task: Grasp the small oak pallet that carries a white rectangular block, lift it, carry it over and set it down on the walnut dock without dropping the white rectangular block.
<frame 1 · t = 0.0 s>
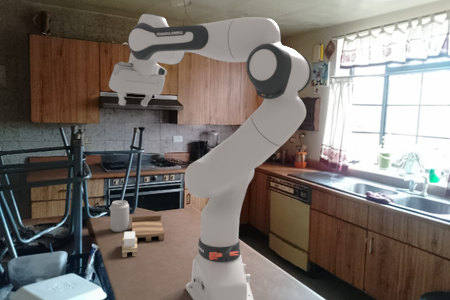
hand: (133, 105, 112), 52 cm above the table, tool tilted 20°, fingers open, 8 cm apart
can: (119, 229, 139), on the table
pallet: (129, 250, 119), on the table
white rectangular block: (129, 243, 119), point 3 cm above the table
dock: (147, 233, 136), on the table
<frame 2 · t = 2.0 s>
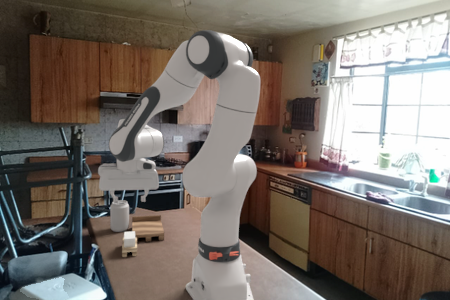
hand: (129, 201, 117), 18 cm above the table, tool pointing down, fingers open, 8 cm apart
nothing on the table moved.
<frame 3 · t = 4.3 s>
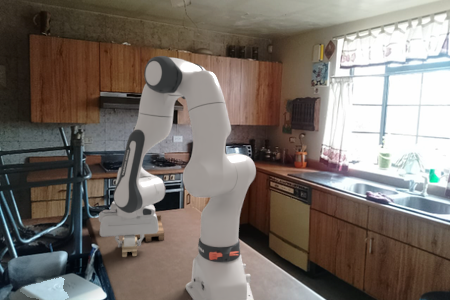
hand: (129, 246, 119), 2 cm above the table, tool pointing down, fingers closed on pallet, 5 cm apart
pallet: (129, 250, 119), on the table, touching white rectangular block, gripper
white rectangular block: (129, 242, 119), point 3 cm above the table, touching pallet
everything else where it was.
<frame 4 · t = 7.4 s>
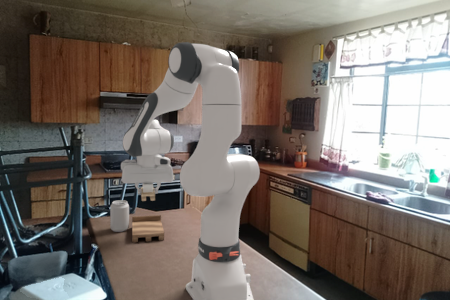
hand: (147, 193, 134), 17 cm above the table, tool pointing down, fingers closed on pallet, 5 cm apart
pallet: (147, 197, 134), point 15 cm above the table, touching white rectangular block, gripper
white rectangular block: (147, 190, 133), point 18 cm above the table, touching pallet
everything else where it was.
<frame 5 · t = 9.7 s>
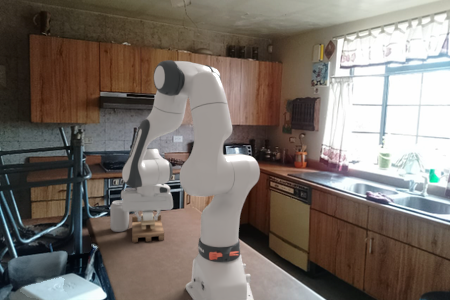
hand: (147, 220, 135), 6 cm above the table, tool pointing down, fingers closed on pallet, 5 cm apart
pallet: (147, 224, 135), point 4 cm above the table, touching white rectangular block, gripper
white rectangular block: (147, 217, 135), point 7 cm above the table, touching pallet
everything else where it was.
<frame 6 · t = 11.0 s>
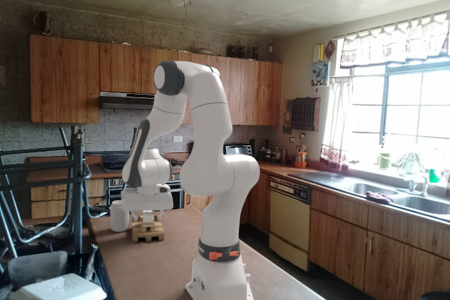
hand: (147, 220, 135), 6 cm above the table, tool pointing down, fingers open, 8 cm apart
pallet: (147, 226, 135), point 3 cm above the table, touching white rectangular block, dock
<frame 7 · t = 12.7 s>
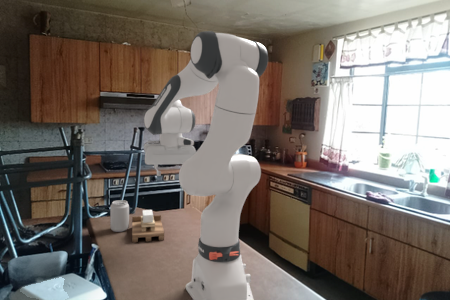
hand: (170, 175, 132), 25 cm above the table, tool pointing down, fingers open, 8 cm apart
nothing on the table moved.
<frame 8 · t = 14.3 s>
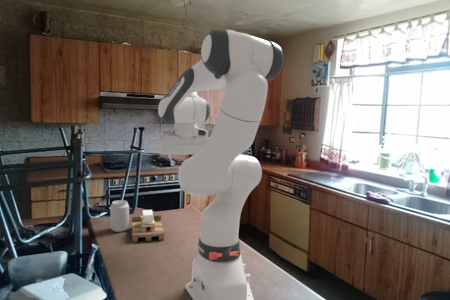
hand: (184, 165, 131), 29 cm above the table, tool pointing down, fingers open, 8 cm apart
nothing on the table moved.
at the end: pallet inside the target area on the dock (0.1 cm from its centre), point 3.0 cm above the dock's base; white rectangular block 0.0 cm off-centre on the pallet, point 3.0 cm above the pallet's base; the gripper is holding nothing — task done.
